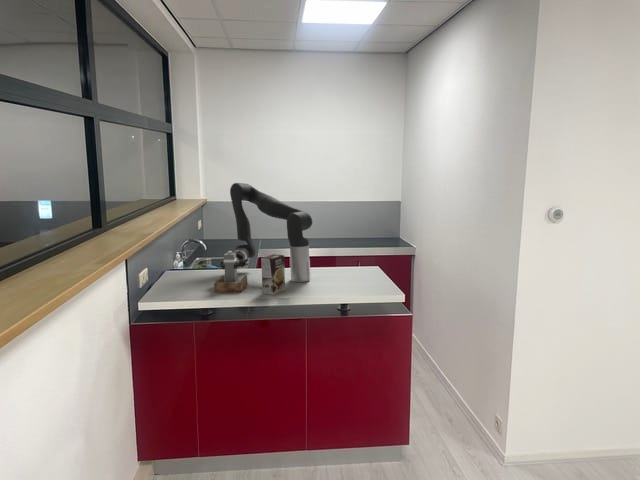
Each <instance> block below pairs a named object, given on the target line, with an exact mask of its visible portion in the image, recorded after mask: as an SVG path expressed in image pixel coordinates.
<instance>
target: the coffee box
mask: <svg viewBox="0 0 640 480" xmlns="http://www.w3.org/2000/svg"><path fill="white" fill-rule="evenodd" d="M260 260H261V261H260V263H261V266H260V267H261V286H262V287H261V288H262V289H261V290H262V292H261V293H263V294H267V295H271V296H273V295H277V294H279V293H281V292H283V291H286V276H285V255H284V254H275V253H274V254H270V255H266V256H263V257H260Z"/></svg>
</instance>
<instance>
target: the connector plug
mask: <svg viewBox="0 0 640 480" xmlns="http://www.w3.org/2000/svg"><path fill="white" fill-rule="evenodd" d="M223 260H224V265H225V269H224V282H238V268H236V269H234V264H235V263H236V260H237V257H236V253H233V251H232V250H228V251H227V252H226V253H224V254H223Z"/></svg>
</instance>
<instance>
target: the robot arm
mask: <svg viewBox="0 0 640 480" xmlns="http://www.w3.org/2000/svg"><path fill="white" fill-rule="evenodd" d="M229 195H230V200H231V204H232V208H233V212H234V216H235V221H236V237H237V239H238V240H239V241H244V242H246V243H247V244H239V245H237V246H235V250H234V251H232V253H236V257H237V260H236V263H235V264H234V269H236V268H237V269H239V268H244V267H246V266H248V265H249V259H250V258H254V257H255V255H256V248H255V245H254V243H253V239H252V234H251V231H252V230H251V224H250V221H249V218H248V217H247V216H248V215H247V214H246V212H245V210H244V207H243V206H244V205H243V202H249V203H251V204H254V205H256V207H257V209H258V210H259V211H260V212H261V213H263V214H265V215H267V216H269V217H271V218H275V219H280V220H285V221H286V231H287V239H288V242H289V256H290V257H289V260H290V261H289V262H290V281H291V282H295V283H305V282H310V280H311V259H310V240H309V239H308V238H307V237H305V236H304V235H303V231H306V230H307V231H308V230H309V229H310V228H311V227H312V226H313V219H312V216H311V215H310V213H308V212H307V211H304V210H302V209H298V208H296V207H292V206H290V205H289V204H287V203H285V202H283V201H281V200H279V199H277V198H275V197H273V196H271V195H269V194H266V193H264V192H261V191H259V190H258V189H256V188H255V187H254V186H252V185H251V184H249V183H246V182H245V183H242V182H234V183H233V184H231V187H230V189H229ZM219 265H220V268H222V270H225V265H224V258H223V259H222V258H221V259H219Z"/></svg>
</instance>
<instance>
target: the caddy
mask: <svg viewBox="0 0 640 480" xmlns="http://www.w3.org/2000/svg"><path fill="white" fill-rule="evenodd" d="M213 285H214V293H215V294H221V293H222V294H225V293H226V294H227V293H228V294H232V293H233V294H234V293H235V294H238V293H242V292H244V290H245V289H246V288H247V286H248V275H244V276H243V277H242V278H241V279H240V280H239V282H238V281H236V282H225V275H221V276H220V277H219V278H218V279H217V280H216V281H215V282H214V283H213Z"/></svg>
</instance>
